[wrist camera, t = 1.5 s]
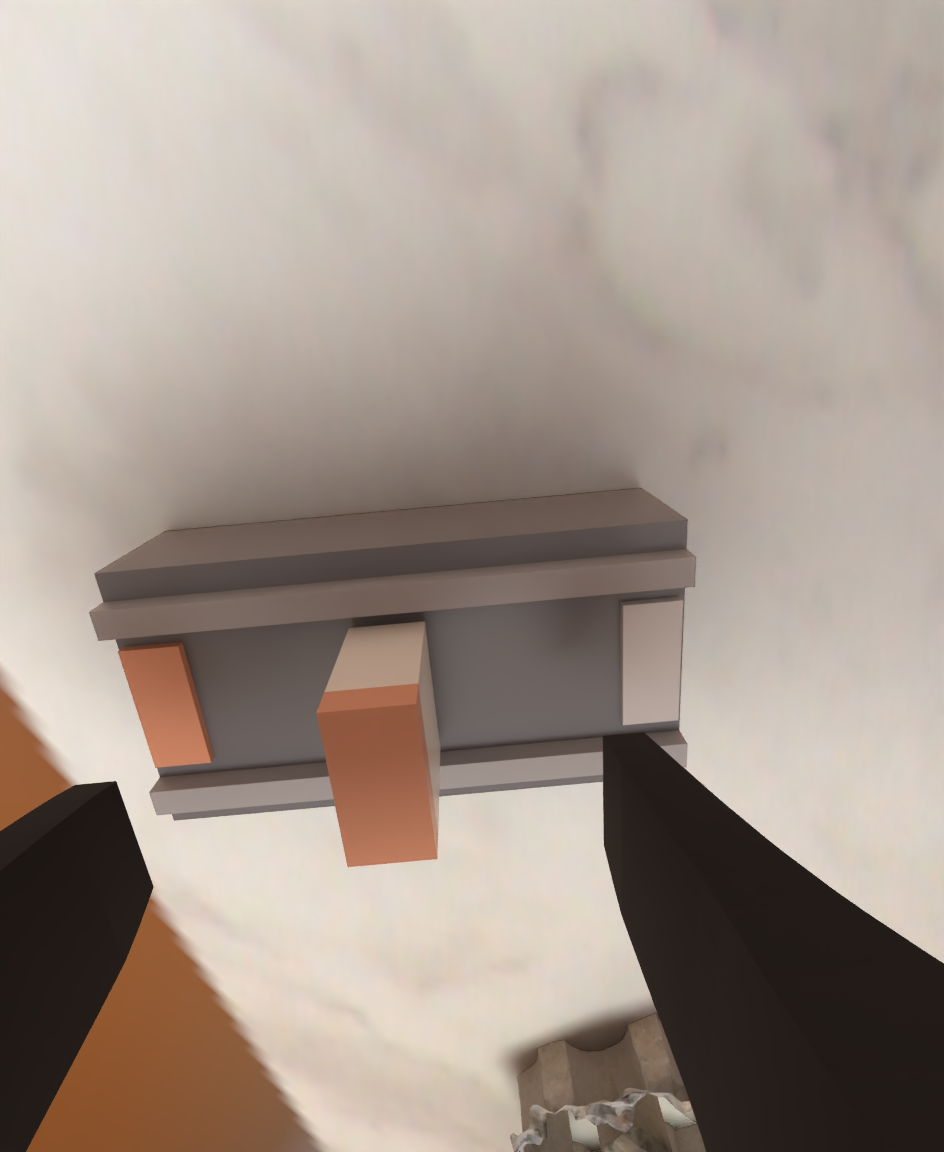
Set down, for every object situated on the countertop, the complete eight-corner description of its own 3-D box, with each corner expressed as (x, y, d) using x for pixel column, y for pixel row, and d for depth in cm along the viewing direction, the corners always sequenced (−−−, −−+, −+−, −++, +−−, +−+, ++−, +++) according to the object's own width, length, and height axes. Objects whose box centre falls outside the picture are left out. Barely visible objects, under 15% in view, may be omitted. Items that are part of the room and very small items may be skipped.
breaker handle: (424, 621, 12) (415, 703, 9) (440, 748, 13) (437, 858, 10) (348, 628, 12) (316, 712, 9) (370, 754, 13) (347, 867, 10)
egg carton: (792, 962, 21) (871, 1101, 17) (816, 1094, 23) (890, 1241, 19) (496, 1037, 21) (507, 1186, 17) (550, 1157, 24) (570, 1310, 20)
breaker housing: (641, 488, 14) (697, 526, 11) (638, 703, 16) (685, 789, 13) (164, 531, 14) (79, 582, 11) (222, 741, 16) (163, 837, 13)
